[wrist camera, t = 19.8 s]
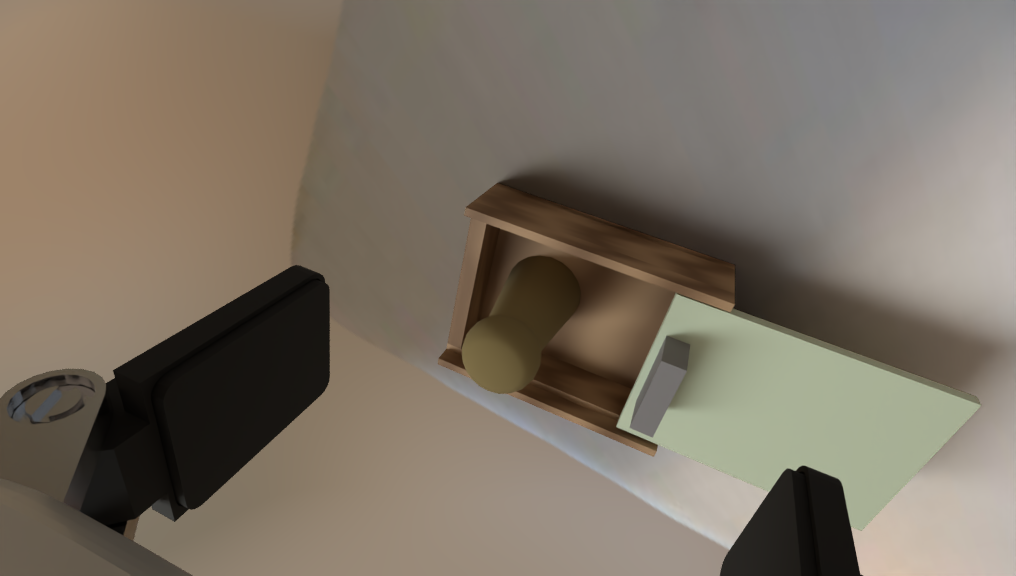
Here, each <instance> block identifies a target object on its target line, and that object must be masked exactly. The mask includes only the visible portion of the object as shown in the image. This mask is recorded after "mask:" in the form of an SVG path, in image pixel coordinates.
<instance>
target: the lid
mask: <svg viewBox="0 0 1016 576" xmlns="http://www.w3.org/2000/svg"><path fill="white" fill-rule="evenodd" d="M980 407H981V404H980V402H979V400H978V399H977V397H976V396H973V395H970V394H967V393H965V392H962V391H959V390H956V389H954V388H951V387H948V386H945V385H943V384H940V383H937V382H934V381H932V380H929V379H926V378H923V377H921V376H918V375H915V374H912V373H910V372H907V371H904V370H901V369H898V368H896V367H893V366H890V365H887V364H885V363H882V362H879V361H876V360H874V359H871V358H868V357H865V356H863V355H860V354H857V353H854V352H852V351H849V350H846V349H843V348H840V347H838V346H835V345H832V344H829V343H827V342H824V341H821V340H818V339H816V338H813V337H810V336H807V335H805V334H802V333H799V332H796V331H794V330H791V329H788V328H785V327H783V326H780V325H777V324H774V323H771V322H769V321H766V320H763V319H760V318H758V317H755V316H752V315H749V314H747V313H744V312H741V311H738V310H736V309H732V311H731V312H728V311H725V310H723V309H720V308H717V307H714V306H712V305H709V304H706V303H703V302H701V301H698V300H695V299H692V298H690V297H687V296H684V295H681V294H679V293H675V296H674V298H673V300H672V302H671V304H670V307H669V309H668V311H667V313H666V315H665V318H664V320H663V322H662V324H661V327H660V329H659V331H658V333H657V335H656V338H655V340H654V342H653V344H652V346H651V349H650V351H649V353H648V355H647V357H646V360H645V362H644V364H643V366H642V368H641V371H640V373H639V375H638V377H637V380H636V382H635V384H634V386H633V388H632V391H631V393H630V395H629V397H628V399H627V402H626V404H625V406H624V408H623V410H622V413H621V415H620V417H619V419H618V422H617V426H616V427H617V428H620V429H622V430H624V431H627V432H629V433H632V434H634V435H636V436H639V437H641V438H643V439H646V440H648V441H650V442H653V443H655V444H657V445H660V446H662V447H665V448H667V449H669V450H672V451H674V452H676V453H679V454H681V455H683V456H686V457H688V458H690V459H693V460H695V461H698V462H700V463H702V464H705V465H707V466H709V467H712V468H714V469H716V470H719V471H721V472H723V473H726V474H728V475H731V476H733V477H735V478H738V479H740V480H742V481H745V482H747V483H749V484H752V485H754V486H756V487H759V488H761V489H764V490H766V491H768V492H770V490H771V489H772V487H773V486H774V485H775V483H776V482H777V480H778V479H779V477H780V476H781V474H782V473H783V472H784V470H786V469H787V468H788V469H792V470H794V471H796V470H797V469H798V468H799V467H800V466H802V465H803V466H807V467H810V468H812V469H815V470H817V471H820V472H822V473H825V474H827V475H830V476H832V477H835V478H838V479H839V480H840V481H841V483H842V486H843V490H844V495H845V500H846V505H847V510H848V515H849V520H850V525H851V527H853V528H855V529H858V530H860V531H862V530H863V529H864V528H865V527H866V526H867V525H868V524H869V523H870V522H871V521H872V519H873V518H874V517H875V516H876V515H877V514H878V513H879V512H880V511H881V510H882V509H883V508H884V507H885V506H886V505H887V504H888V503H889V502H890V501H891V500H892V499H893V498H894V496H895V495H896V494H897V493H898V492H899V491H900V490H901V489H902V488H903V487H904V486H905V485H906V484H907V483H908V482H909V481H910V480H911V479H912V478H913V477H914V476H915V474H916V473H917V472H918V471H919V470H920V469H921V468H922V467H923V466H924V465H925V464H926V463H927V462H928V461H929V460H930V459H931V458H932V457H933V456H934V455H935V454H936V453H937V451H938V450H939V449H940V448H941V447H942V446H943V445H944V444H945V443H946V442H947V441H948V440H949V439H950V438H951V437H952V436H953V435H954V434H955V433H956V432H957V431H958V430H959V428H960V427H961V426H962V425H963V424H964V423H965V422H966V421H967V420H968V419H969V418H970V417H971V416H972V415H973V414H974V413H975V412H976V411H977V410H978V409H979V408H980Z"/></svg>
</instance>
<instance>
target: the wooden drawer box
mask: <svg viewBox="0 0 1016 576" xmlns="http://www.w3.org/2000/svg"><path fill="white" fill-rule="evenodd" d="M464 216H467V217H470V218H471V220H470V226H469V231H468V236H467V242H466V247H465V253H464V258H463V263H462V269H461V274H460V279H459V285H458V290H457V295H456V301H455V306H454V311H453V317H452V322H451V328H450V333H449V338H448V344H447V349H446V350H445V351H444V353H443V354H442V355H441V356H440V357H439V360H438V364H439V365H441V366H444V367H446V368H448V369H451V370H453V371H455V372H457V373H460V374H462V375H464V376H467V377H469V378H471V377H470V376H469V374H468V373H467V372H466V369H465V366H464V364H463V360H462V346H463V343H464V340H465V338H466V335H467V333H468V332H469V331H470V329H471V328H472V327H473V326H474V325H475V324H476V323H477V322H479V321H480V320H482V319H484V318H487V317H489V315H490V313H491V311H492V309H493V307H494V305H495V303H496V301H497V299H498V297H499V295H500V293H501V291H502V289H503V286H504V284H505V282H506V280H507V278H508V276H509V274H510V272H511V270H512V268H513V267H514V266H515V265H516V264H517V263H518V262H519V261H521V260H523V259H525V258H527V257H531V256H538V255H541V256H546V257H552V258H554V259H556V260H558V261H560V262H562V263H563V264H564V265H566V266H567V267H568V268H569V269H570V270H571V271H572V272H573V274H574V276H575V277H576V279H577V280H578V283H579V287H580V291H581V295H580V303H579V305H578V307H577V309H576V311H575V313H574V314H573V315H572V316H571V317H570V318H569V320H568V321H567V322H566V323H565V324H564V325H563V327H562V328H561V329H560V330H559V331H558V332H557V334H556V335H555V336H554V337H553V338H552V339H551V340H550V342H549V343H548V344H547V345H546V346H545V347H544V349H543V350H542V351H541V363H540V367H539V369H538V371H537V373H536V375H535V377H534V379H533V380H532V381H531V382H530V383H529V384H528V385H526V386H525V387H524V388H523V389H522V390H519V391H516V392H513V393H508V394H509V395H511V396H513V397H516V398H518V399H520V400H523V401H525V402H527V403H530V404H532V405H534V406H537V407H539V408H541V409H544V410H546V411H548V412H551V413H553V414H555V415H558V416H560V417H562V418H565V419H567V420H569V421H572V422H574V423H576V424H579V425H581V426H583V427H586V428H588V429H590V430H592V431H595V432H597V433H599V434H602V435H604V436H606V437H609V438H611V439H613V440H616V441H618V442H620V443H623V444H625V445H627V446H630V447H632V448H634V449H637V450H639V451H641V452H644V453H646V454H648V455H651V456H653V457H654V455H655V453H656V451H657V446H658V445H657V444H655V443H653V442H650V441H648V440H646V439H643V438H641V437H639V436H636V435H634V434H632V433H629V432H627V431H624V430H622V429H620V428H617V427H616V426H617V422H618V419H619V417H620V415H621V413H622V410H623V408H624V406H625V404H626V402H627V399H628V397H629V395H630V393H631V391H632V388H633V386H634V384H635V382H636V380H637V377H638V375H639V373H640V371H641V368H642V366H643V364H644V362H645V360H646V357H647V355H648V353H649V351H650V349H651V346H652V344H653V342H654V340H655V338H656V335H657V333H658V331H659V329H660V327H661V324H662V322H663V320H664V318H665V315H666V313H667V311H668V309H669V307H670V304H671V302H672V300H673V298H674V296H675V293H679V294H681V295H684V296H687V297H690V298H692V299H695V300H698V301H701V302H703V303H706V304H709V305H712V306H714V307H717V308H720V309H723V310H725V311H728V312H731V311H732V309H733V307H734V305H735V265H734V264H731V263H728V262H725V261H722V260H719V259H716V258H714V257H711V256H708V255H705V254H702V253H699V252H696V251H693V250H690V249H687V248H685V247H682V246H679V245H676V244H673V243H670V242H667V241H664V240H661V239H659V238H656V237H653V236H650V235H647V234H644V233H641V232H638V231H635V230H633V229H630V228H627V227H624V226H621V225H618V224H615V223H612V222H609V221H607V220H604V219H601V218H598V217H595V216H592V215H589V214H586V213H583V212H580V211H578V210H575V209H572V208H569V207H566V206H563V205H560V204H557V203H554V202H552V201H549V200H546V199H543V198H540V197H537V196H534V195H531V194H528V193H526V192H523V191H520V190H517V189H514V188H511V187H508V186H505V185H502V184H500V183H497V184H495V185H494V186H493V187H491V188H490V189H489V190H488V191H486V192H485V193H484V194H482V195H481V196H480V197H479V198H477V199H476V200H475V201H473V202H472V203H471V204H470V205H468V206H467V207H466V209H465V214H464Z"/></svg>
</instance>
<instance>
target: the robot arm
mask: <svg viewBox="0 0 1016 576" xmlns="http://www.w3.org/2000/svg"><path fill="white" fill-rule="evenodd" d="M329 321H330V305H329V286H328V285H327V284H326V283H325V279H324V277H323V275H321V274H319V273H317V272H314V271H312V270H309V269H307V268H304V267H302V266H299V265H295V266H292V267H290V268H288V269H286V270H285V271H283V272H281V273H280V274H278V275H276V276H274V277H273V278H271V279H269V280H268V281H266V282H264V283H262V284H261V285H259V286H257V287H256V288H254V289H252V290H250V291H249V292H247V293H245V294H243V295H242V296H240V297H238V298H237V299H235V300H233V301H231V302H230V303H228V304H226V305H225V306H223V307H221V308H219V309H218V310H216V311H214V312H213V313H211V314H209V315H207V316H206V317H204V318H202V319H200V320H199V321H197V322H195V323H194V324H192V325H190V326H189V327H187V328H185V329H183V330H182V331H180V332H178V333H176V334H175V335H173V336H171V337H170V338H168V339H167V340H165V341H163V342H161V343H159V344H158V345H156V346H154V347H152V348H151V349H149V350H147V351H146V352H144V353H142V354H140V355H139V356H137V357H135V358H133V359H132V360H130V361H128V362H127V363H125V364H123V365H122V366H120V367H118V368H116V369H115V370H113V372H114V375H115V378H114V379H112V380H111V381H109V382H107V383H105V381H104V380H103V378H102V377H101V376H99V375H98V374H96V373H95V372H92V371H88V370H84V369H62V370H55V371H49V372H46V373H43V374H39V375H36V376H33V377H31V378H29V379H27V380H24V381H23V382H20V383H18V384H17V385H15V386H14V387H12V388H11V389H10V390H8V391H7V392H6V393H5V394H4V395H3V396H2V397H1V398H0V576H192V575H191V574H189V573H187V572H185V571H184V570H182V569H180V568H179V567H177V566H175V565H173V564H172V563H170V562H168V561H167V560H165V559H163V558H161V557H160V556H158V555H156V554H154V553H153V552H151V551H149V550H148V549H146V548H144V547H143V546H141V545H139V544H137V543H136V542H134V541H133V540H134V537H135V532H136V529H137V524H138V521H139V517H140V515H141V514H142V513H143V512H144V511H146V510H147V509H148V508H149V507H150V506H152V509H153V510H155V511H157V512H158V513H160V514H162V515H164V516H165V517H167V518H169V519H171V520H172V521H174V522H175V521H176V520H177V519H178V518H179V517H180V516H182V515H183V514H184V513H185V512H186V511H187V510H188V509H196V508H198V507H199V506H201V505H202V504H203V503H204V502H205V501H207V500H208V499H209V498H210V497H211V496H212V495H213V494H214V493H215V492H216V491H217V490H218V489H219V488H221V487H222V486H223V485H224V484H225V483H226V482H227V481H228V480H229V479H230V478H231V477H233V476H234V475H235V474H236V473H237V472H238V471H239V470H240V469H241V468H242V467H243V466H244V465H246V464H247V463H248V462H249V461H250V460H251V459H252V458H253V457H254V456H255V455H256V454H257V453H259V452H260V451H261V450H262V449H263V448H264V447H265V446H266V445H267V444H268V443H269V442H270V441H271V440H273V439H274V438H275V437H276V436H277V435H278V434H279V433H280V432H281V431H282V430H283V429H284V428H286V427H287V426H288V425H289V424H290V423H291V422H292V421H293V420H294V419H295V418H296V417H298V416H299V415H300V414H301V413H302V412H303V411H304V410H305V409H306V408H307V407H308V406H310V405H311V404H312V403H313V402H314V401H315V400H316V399H317V398H318V397H319V396H320V395H321V394H322V393H323V392H324V391H325V389H326V387H327V385H328V383H329V377H330V371H329V370H330V365H329V364H330V352H329V350H330V345H329V342H330V340H329V338H330V337H329V336H330V335H329V334H330V332H329V331H330V330H329V329H330V323H329ZM720 576H863V575H860V571H859V566H858V561H857V556H856V551H855V546H854V541H853V536H852V530H851V525H850V520H849V515H848V510H847V505H846V500H845V495H844V490H843V486H842V483H841V481H840V480H839V479H838V478H835V477H832V476H830V475H827V474H825V473H822V472H820V471H817V470H815V469H812V468H810V467H807V466H803V465H802V466H800V467H799V468H798V469H797V470H796V471H794V470H792V469H788V468H787V469H786V470H784V472H783V473H782V474H781V476H780V477H779V479H778V480H777V482H776V483H775V485H774V486H773V487H772V489H771V490H770V492H769V493H768V495H767V496H766V498H765V499H764V501H763V502H762V504H761V505H760V507H759V508H758V509H757V511H756V512H755V514H754V515H753V517H752V518H751V520H750V521H749V523H748V524H747V526H746V527H745V529H744V530H743V531H742V533H741V534H740V536H739V537H738V539H737V540H736V542H735V543H734V545H733V546H732V548H731V549H730V551H729V552H728V554H727V555H726V557H725V559H724V561H723V564H722V568H721V573H720Z"/></svg>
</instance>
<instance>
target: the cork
mask: <svg viewBox="0 0 1016 576" xmlns="http://www.w3.org/2000/svg"><path fill="white" fill-rule="evenodd" d="M580 295H581V291H580V287H579V283H578V280H577V279H576V277H575V276H574V274H573V272H572V271H571V270H570V269H569V268H568V267H567V266H566V265H564V264H563V263H562V262H560V261H558V260H556V259H554V258H552V257H546V256H541V255H538V256H531V257H527V258H525V259H523V260H521V261H519V262H518V263H517V264H516V265H515V266H514V267H513V268H512V270H511V272H510V274H509V276H508V278H507V280H506V282H505V284H504V286H503V289H502V291H501V293H500V295H499V297H498V299H497V301H496V303H495V305H494V307H493V309H492V311H491V313H490V315H489V317H487V318H484V319H482V320H480V321H479V322H477V323H476V324H475V325H474V326H473V327H472V328H471V329H470V331H469V332H468V333H467V335H466V338H465V340H464V343H463V346H462V360H463V364H464V366H465V369H466V372H467V373H468V374H469V376H470V377H471V379H472V380H473V381H475V382H476V383H477V384H478V385H479V386H481V387H482V388H484V389H486V390H488V391H491V392H495V393H498V394H508V393H513V392H516V391H519V390H522V389H523V388H524V387H525V386H526V385H528V384H529V383H530V382H531V381H532V380H533V379H534V377H535V375H536V373H537V371H538V369H539V367H540V363H541V351H542V350H543V349H544V347H545V346H546V345H547V344H548V343H549V342H550V340H551V339H552V338H553V337H554V336H555V335H556V334H557V332H558V331H559V330H560V329H561V328H562V327H563V325H564V324H565V323H566V322H567V321H568V320H569V318H570V317H571V316H572V315H573V314H574V313H575V311H576V309H577V307H578V305H579V303H580Z"/></svg>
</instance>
